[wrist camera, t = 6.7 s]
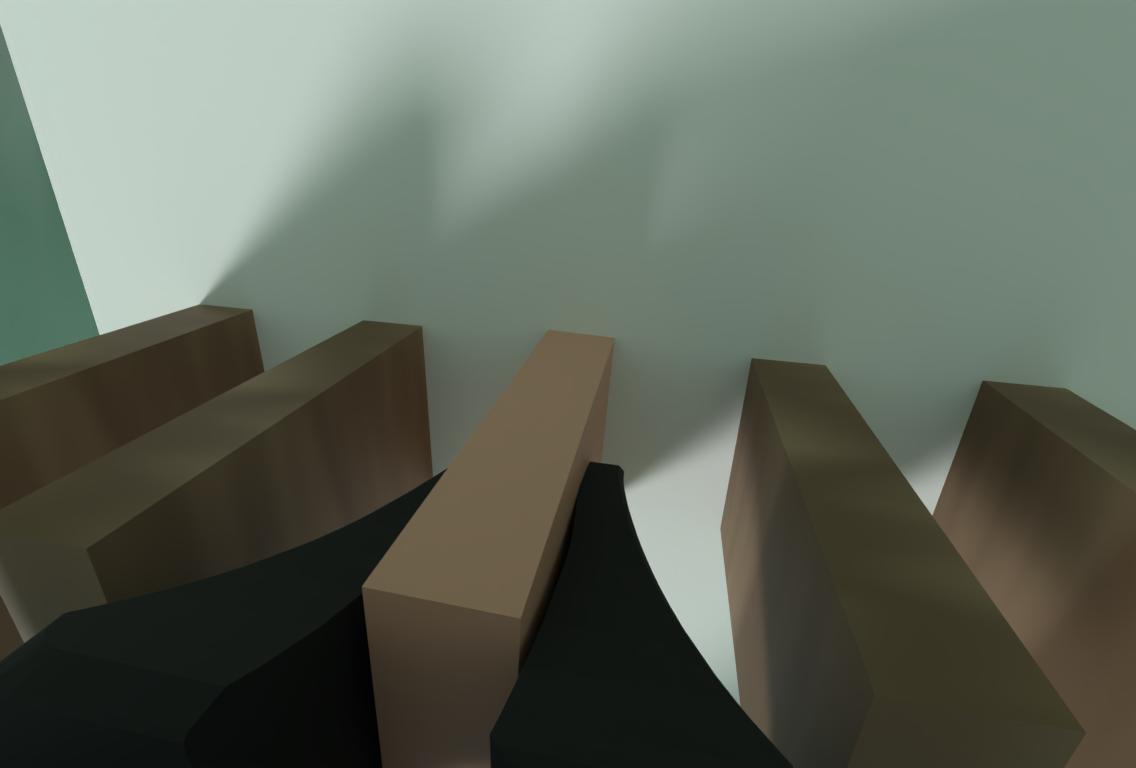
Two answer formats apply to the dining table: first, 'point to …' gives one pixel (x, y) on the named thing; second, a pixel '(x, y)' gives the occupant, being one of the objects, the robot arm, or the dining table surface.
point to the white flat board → (621, 205)
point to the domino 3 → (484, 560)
